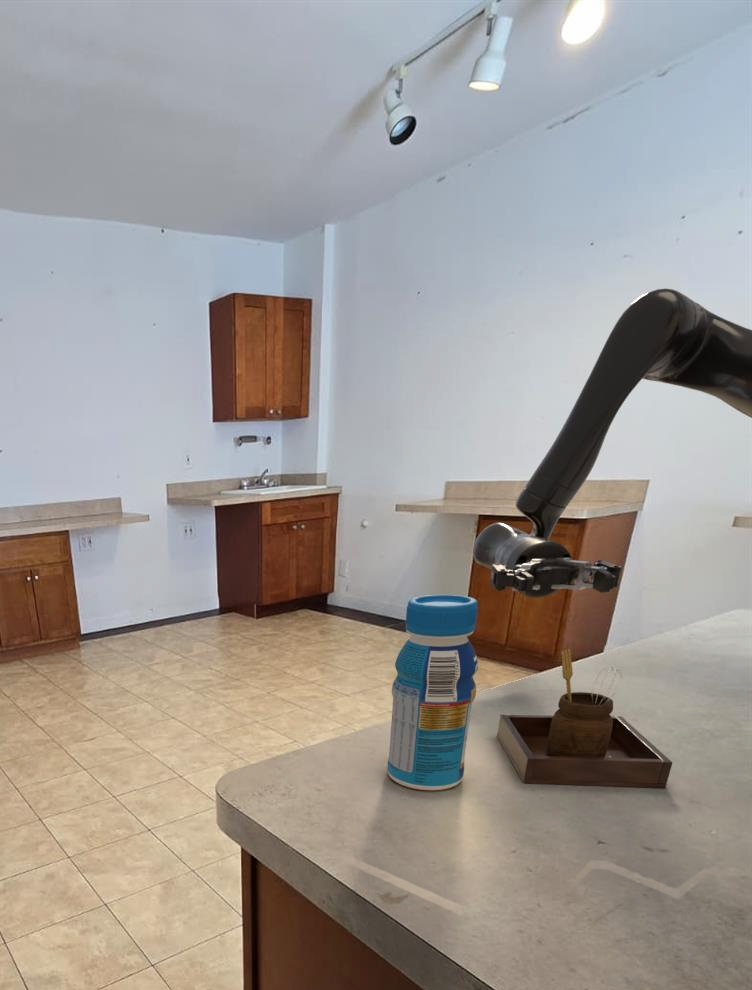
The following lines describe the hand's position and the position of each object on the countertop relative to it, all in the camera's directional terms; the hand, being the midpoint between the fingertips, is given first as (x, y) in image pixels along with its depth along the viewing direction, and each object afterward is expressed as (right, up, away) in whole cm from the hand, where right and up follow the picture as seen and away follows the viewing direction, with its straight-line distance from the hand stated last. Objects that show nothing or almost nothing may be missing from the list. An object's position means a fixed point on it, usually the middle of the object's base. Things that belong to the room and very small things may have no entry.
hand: (568, 585), depth 77 cm
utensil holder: (-1, -21, -3) cm, 21 cm away
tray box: (-1, -21, -3) cm, 22 cm away
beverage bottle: (-19, -23, -4) cm, 31 cm away
